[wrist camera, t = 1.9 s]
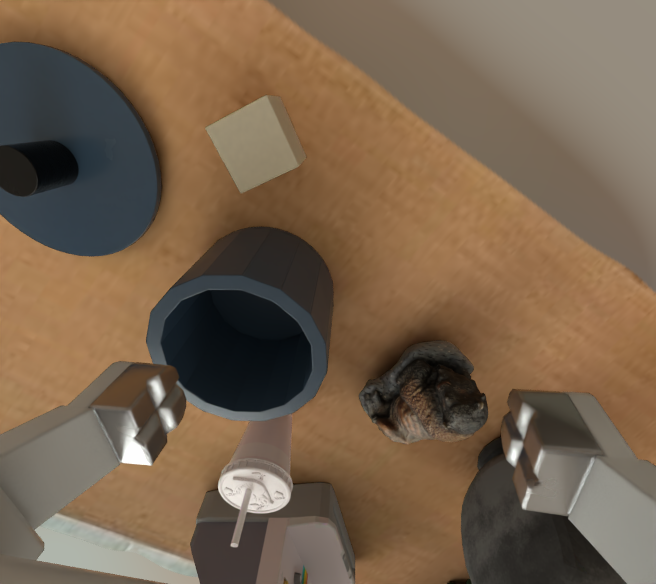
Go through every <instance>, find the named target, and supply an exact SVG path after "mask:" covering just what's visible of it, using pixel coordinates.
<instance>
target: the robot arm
mask: <svg viewBox="0 0 656 584" xmlns="http://www.w3.org/2000/svg"><path fill="white" fill-rule="evenodd" d="M178 379H179V375H178V372H177V370H176V368H175V367H173V366H170V365H161V364H150V363H139V362H136V363H134V362H125V361H119V362H115V363H113V364H112V365H110V366H109V367H108V368H107V369H106V370H105V371H104V372H103V373H102V374H101V375H100V376H99V377H98V378H97V379H95V380H94V381H93V382H92V383H91V384H90V385H89V386H88V387H87V388H86V389H85V390H84V391H83V392H82V393H80V394H79V395H78V396H77V397H76V398H75V399H74V400H73V401H72V402H71V403H70V404H69V405H68V406H60V407H57V408H55V409H53V410H51V411H49V412H47V413H45V414H43V415H41V416H38V417H36V418H34V419H32V420H30V421H28V422H26V423H24V424H22V425H20V426H17V427H15V428H13V429H11V430H9V431H7V432H5V433H3V434H1V435H0V584H165V583H160V582H155V581H149V580H143V579H137V578H132V577H126V576H120V575H115V574H110V573H104V572H98V571H92V570H87V569H81V568H76V567H70V566H64V565H59V564H53V563H48V562H42V561H36V560H37V558H38V557H39V556H40V554H41V553H42V552H43V551H44V542H43V541H42V540H41V538H40V537H39V536H38V534H37V533H36V532H35V531H34V530H35V529H36V528H37V527H39V526H40V525H41V524H43V523H44V522H45V521H47V520H48V519H49V518H50V517H52V516H53V515H54V514H56V513H57V512H58V511H60V510H61V509H62V508H64V507H65V506H66V505H67V504H69V503H70V502H71V501H73V500H74V499H75V498H77V497H78V496H79V495H81V494H82V493H83V492H84V491H86V490H87V489H88V488H90V487H91V486H92V485H94V484H95V483H96V482H98V481H99V480H100V479H101V478H103V477H104V476H105V475H107V474H108V473H109V472H111V471H112V470H113V469H115V468H116V467H117V466H118V465H120V463H132V464H143V465H152V464H153V463H154V461H155V460H156V458H157V457H158V455H159V454H160V452H161V451H162V449H163V448H164V446H165V445H166V443H167V433H169V432H170V431H172V430H173V429H175V428H177V426H178V425H179V423H180V422H181V420H182V418H183V416H184V412H185V409H186V396H185V393H184V390H183V389H181V388H180V387H179V386H178V385H177V384H176V383H177V381H178ZM507 403H508V405H509V408H510V412H509V413H507V414H506V415H505V416H503V421H502V426H501V441H502V446H503V451H504V454H505V458H506V460H507V461H508V462H509V463H510V464H511V465H512V466H513V467H514V468H515V471H514V474H513V478H512V480H513V483H514V486H515V489H516V492H517V495H518V498H519V501H520V504H521V507H522V510H529V511H536V512H543V513H550V514H556V515H563V516H569V517H568V519H569V520H570V521H571V522H572V523H573V524H574V526H575V527H576V528H577V529H578V530H579V531H580V532H581V533H582V534H583V536H584V537H585V538H586V539H587V540H588V541H589V542H590V543H591V544H592V545H593V547H594V548H595V549H596V550H597V551H598V552H599V553H600V554H601V555H602V557H603V558H604V559H605V560H606V561H607V562H608V563H609V564H610V565H611V566H612V568H613V569H614V570H615V571H616V572H617V573H618V574H619V575H620V576H621V577H622V579H623V580H624V581H625V582H626V583H627V584H656V466H655V465H653V464H652V463H650V462H649V461H647V460H638V458H637V457H636V455H635V454H634V453H633V451H632V450H631V448H630V447H629V445H628V444H627V443H626V441H625V440H624V438H623V437H622V435H621V434H620V433H619V431H618V430H617V428H616V427H615V425H614V424H613V423H612V421H611V420H610V418H609V417H608V415H607V414H606V412H605V411H604V410H603V408H602V407H601V405H600V404H599V402H598V401H597V400H596V398H595V397H594V396H593V395H591V394H590V393H581V392H556V391H540V390H524V389H512V391H511V392H510V393H509V397H508V401H507ZM119 462H120V463H119Z"/></svg>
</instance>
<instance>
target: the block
mask: <svg viewBox="0 0 656 584" xmlns="http://www.w3.org/2000/svg"><path fill="white" fill-rule="evenodd" d="M205 129H206V131H207V132H208V134H209V136H210V138H211V140H212V142H213V144H214V145H215V147H216V149H217V151H218V153H219V155H220V157H221V158H222V160H223V162H224V164H225V166H226V168H227V169H228V171H229V173H230V175H231V177H232V179H233V181H234V182H235V184H236V186H237V188H238V190H239V192H240V193H244V192H246V191H248V190H250V189H252V188H254V187H256V186H259V185H261V184H263V183H265V182H267V181H269V180H271V179H274V178H276V177H278V176H280V175H282V174H284V173H286V172H289V171H291V170H293V169H295V168H297V167H299V166H300V165H301V163H302V162H303V161H304V160H305V159H306V158H307V157H306V154H305V152H304V150H303V147H302V145H301V143H300V141H299V138H298V136H297V134H296V132H295V129H294V127H293V125H292V122H291V120H290V118H289V116H288V113H287V111H286V109H285V107H284V104H283V102H282V100H281V97H279V96H271V95H265V96H263V97H261V98H259V99H257V100H255V101H254V102H252V103H250V104H248V105H246V106H244V107H242V108H240V109H239V110H237V111H235V112H233V113H231V114H229V115H227V116H225V117H224V118H222V119H220V120H218V121H216V122H214V123H212V124H210V125H209V126H207V127H205Z"/></svg>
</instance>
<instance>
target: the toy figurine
mask: <svg viewBox="0 0 656 584" xmlns="http://www.w3.org/2000/svg"><path fill="white" fill-rule="evenodd" d="M447 584H455V583H452V582H449V583H447ZM466 584H472V583H471V580H470V579H468V580H467V582H466Z"/></svg>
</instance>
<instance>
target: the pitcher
mask: <svg viewBox="0 0 656 584" xmlns="http://www.w3.org/2000/svg"><path fill="white" fill-rule="evenodd" d="M477 467H478V470H479V471H478V473H477V474H476V476H475V478H474V479H473V481H472V483H471V485H470V486H469V488H468V491H467V493H466V495H465V498H464V501H463V505H462V513H461V534H462V545H463V552H464V558H465V564H466V568H467V571H468V574H469V577H470V580H471V583H472V584H627V583H626V582H625V581H624V580H623V579H622V577H621V576H620V575H619V574H618V573H617V572H616V571H615V570H614V569H613V568H612V566H611V565H610V564H609V563H608V562H607V561H606V560H605V559H604V558H603V557H602V555H601V554H600V553H599V552H598V551H597V550H596V549H595V548H594V547H593V545H592V544H591V543H590V542H589V541H588V540H587V539H586V538H585V537H584V536H583V534H582V533H581V532H580V531H579V530H578V529H577V528H576V527H575V526H574V524H573V523H572V522H571V521H570V520H569V519H568V517H569V516H563V515H556V514H550V513H543V512H536V511H529V510H522V507H521V504H520V501H519V498H518V495H517V492H516V489H515V486H514V483H513V480H512V478H513V474H514V471H515V468H514V467H513V466H512V465H511V464H510V463H509V462H508V461H507V460H506V458H505V454H504V451H503V446H502V441H501V437H500V438H498V439H495V440H494V441H492V442H491V443H490V444H488V445H487V446H485V447H484V449H483V450H482V452H481V453H480V455H479V457H478V466H477Z"/></svg>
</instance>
